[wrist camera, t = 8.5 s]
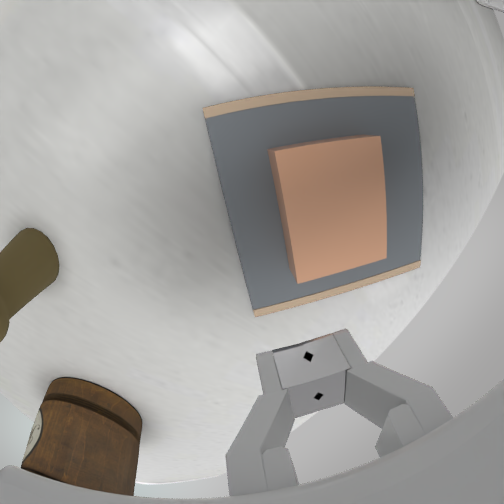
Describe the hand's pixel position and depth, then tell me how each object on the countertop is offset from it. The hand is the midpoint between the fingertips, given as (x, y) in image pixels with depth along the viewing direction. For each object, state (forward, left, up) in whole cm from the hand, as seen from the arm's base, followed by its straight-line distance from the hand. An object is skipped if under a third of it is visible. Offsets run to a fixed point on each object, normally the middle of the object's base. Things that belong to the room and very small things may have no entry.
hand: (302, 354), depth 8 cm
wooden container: (+28, +21, -15) cm, 38 cm away
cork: (+21, -2, -15) cm, 25 cm away
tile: (-2, 0, -13) cm, 13 cm away
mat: (-7, 0, -14) cm, 16 cm away
